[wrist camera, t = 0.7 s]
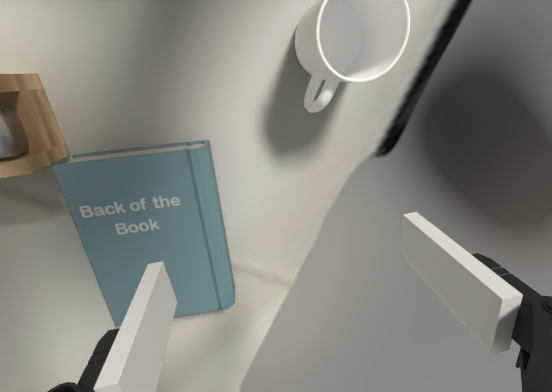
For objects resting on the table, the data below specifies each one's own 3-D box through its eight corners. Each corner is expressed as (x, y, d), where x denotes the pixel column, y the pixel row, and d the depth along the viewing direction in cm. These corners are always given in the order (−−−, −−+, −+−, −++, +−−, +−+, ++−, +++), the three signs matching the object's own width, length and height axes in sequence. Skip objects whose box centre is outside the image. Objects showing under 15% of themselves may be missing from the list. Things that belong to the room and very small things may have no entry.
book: (75, 154, 36) (51, 166, 31) (209, 139, 37) (206, 148, 33) (127, 300, 45) (115, 326, 40) (235, 284, 46) (235, 307, 42)
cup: (375, 22, 34) (428, 3, 25) (328, 120, 38) (358, 135, 29) (313, -16, 32) (346, -52, 23) (268, 92, 36) (281, 99, 26)
